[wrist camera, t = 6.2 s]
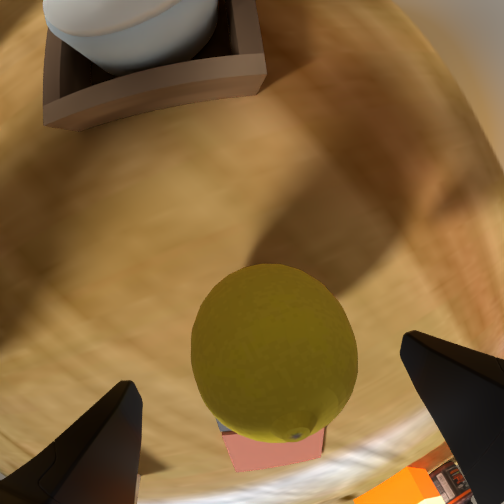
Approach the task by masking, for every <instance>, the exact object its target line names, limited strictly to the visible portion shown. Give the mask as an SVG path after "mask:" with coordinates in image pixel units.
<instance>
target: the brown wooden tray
mask: <svg viewBox="0 0 504 504" xmlns="http://www.w3.org/2000/svg"><path fill="white" fill-rule="evenodd" d="M224 1H225V8H226V16H227V24H228V31H229V39H230V47H231V54H232V55H231V56H221V57H213V58H206V59H199V60H192V61H186V62H181V63H175V64H170V65H166V66H161V67H156V68H152V69H148V70H144V71H140V72H136V73H132V74H129V75H125V76H122V77H118V78H115V79H112V80H109V81H105V82H102V83H99V84H96V85H94V86H91V60H89V59H88V58H87V57H85V56H84V55H83V54H81V53H80V52H78V51H77V50H76V49H74V48H73V47H71V46H70V45H68V44H67V43H66V42H64V41H63V40H61V39H60V38H58V37H57V36H56V35H54V34H53V33H52V32H51V31H50V29H49V27H48V31H47V39H46V48H45V59H44V74H43V124H44V126H48V127H54V128H60V129H67V130H72V131H78V132H79V131H82V130H85V129H88V128H91V127H94V126H98V125H101V124H104V123H107V122H111V121H114V120H118V119H121V118H125V117H129V116H133V115H137V114H141V113H145V112H149V111H154V110H158V109H163V108H168V107H173V106H178V105H183V104H189V103H195V102H201V101H208V100H215V99H223V98H231V97H241V96H252V95H256V94H257V92H258V90H259V89H260V87H261V85H262V83H263V81H264V79H265V77H266V75H267V69H266V63H265V56H264V50H263V44H262V38H261V31H260V26H259V20H258V14H257V8H256V3H255V0H224Z"/></svg>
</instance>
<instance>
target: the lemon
mask: <svg viewBox="0 0 504 504" xmlns="http://www.w3.org/2000/svg"><path fill="white" fill-rule="evenodd" d="M191 363H192V369H193V373H194V376H195V380H196V383H197V386H198V389H199V392H200V394H201V397H202V399H203V401H204V402H205V404H206V406H207V407H208V409H209V410H210V411H211V412H212V414H213V415H214V416H215V417H216V418H217V419H218V420H219V421H220V422H221V423H222V424H223V425H224V426H226V427H227V428H229V429H230V430H232V431H234V432H235V433H237V434H239V435H241V436H244V437H247V438H249V439H252V440H255V441H260V442H267V443H286V442H299V441H301V440H304V439H305V438H307V437H308V436H310V435H313V434H315V433H316V432H318V431H319V430H321V429H322V428H324V427H325V426H327V425H328V424H329V423H330V422H331V421H332V420H333V419H334V418H335V417H336V416H337V415H338V414H339V413H340V412H341V411H342V409H343V408H344V406H345V405H346V403H347V402H348V400H349V398H350V396H351V394H352V392H353V389H354V385H355V382H356V378H357V373H358V355H357V345H356V340H355V336H354V333H353V331H352V328H351V325H350V323H349V321H348V318H347V316H346V314H345V311H344V310H343V308H342V306H341V304H340V303H339V301H338V300H337V299H336V298H335V297H334V296H333V295H332V294H331V292H330V291H329V290H328V289H327V288H326V287H325V286H324V285H323V284H322V283H321V282H320V281H318V280H317V279H315V278H313V277H312V276H310V275H308V274H307V273H305V272H303V271H302V270H300V269H296V268H293V267H289V266H286V265H282V264H258V265H253V266H249V267H244V268H242V269H240V270H238V271H236V272H234V273H232V274H229V275H228V276H227V277H225V278H224V279H223V280H222V281H221V282H219V283H218V284H217V285H216V286H215V287H214V288H213V289H212V290H211V292H210V293H209V294H208V296H207V297H206V298H205V300H204V301H203V303H202V304H201V306H200V309H199V312H198V314H197V317H196V320H195V323H194V325H193V329H192V335H191Z"/></svg>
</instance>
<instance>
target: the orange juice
mask: <svg viewBox="0 0 504 504" xmlns="http://www.w3.org/2000/svg"><path fill="white" fill-rule="evenodd" d="M354 503H355V504H445V502H444V500H443V498H442V497H441V496H440V494H439V492H438V491H437V489H436V487H435V485H434V484H433V482H432V480H431V478H430V477H429V475H428V473H427V472H426V470H425V469H422V468H413V467H406V468H404V469H403V470H401V471H400V472H398V473H397V474H395V475H394V476H392V477H391V478H389V479H388V480H386V481H385V482H383V483H382V484H380V485H378V486H377V487H375V488H373V489H372V490H370V491H368V492H367V493H365V494H363V495H361V496H360V497H358V498H356V499H354Z"/></svg>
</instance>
